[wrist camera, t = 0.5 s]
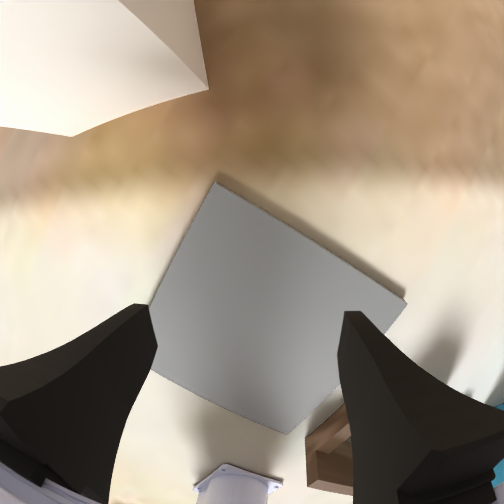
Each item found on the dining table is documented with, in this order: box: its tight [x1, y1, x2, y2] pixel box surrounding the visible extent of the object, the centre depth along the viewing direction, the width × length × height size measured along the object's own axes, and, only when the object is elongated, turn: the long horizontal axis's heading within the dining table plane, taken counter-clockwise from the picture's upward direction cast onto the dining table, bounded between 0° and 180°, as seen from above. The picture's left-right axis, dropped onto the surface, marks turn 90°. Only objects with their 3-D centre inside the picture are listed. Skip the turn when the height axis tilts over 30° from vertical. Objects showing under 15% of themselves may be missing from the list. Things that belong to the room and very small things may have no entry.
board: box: [149, 182, 407, 435], centre depth 22 cm, size 16×16×1 cm
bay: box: [305, 403, 353, 496], centre depth 21 cm, size 10×15×6 cm
